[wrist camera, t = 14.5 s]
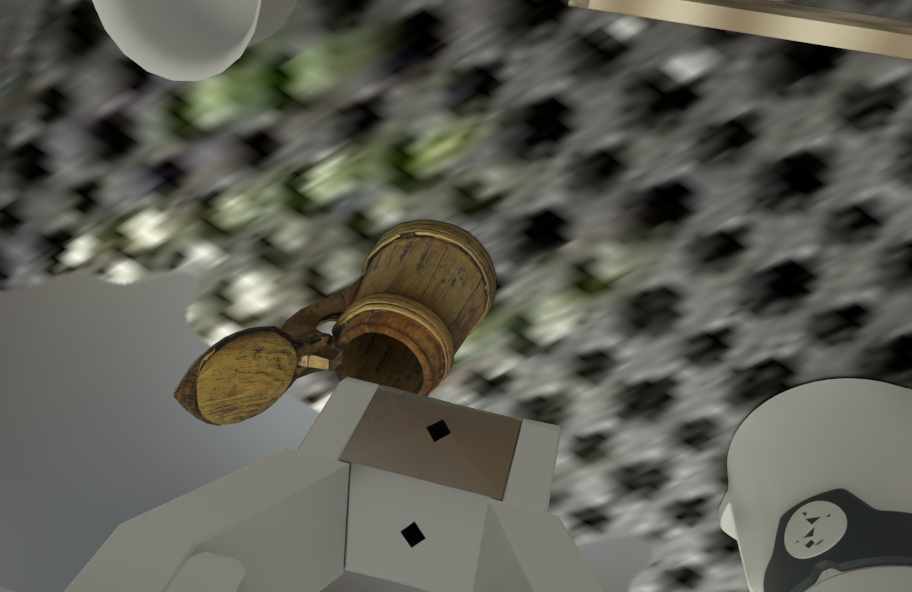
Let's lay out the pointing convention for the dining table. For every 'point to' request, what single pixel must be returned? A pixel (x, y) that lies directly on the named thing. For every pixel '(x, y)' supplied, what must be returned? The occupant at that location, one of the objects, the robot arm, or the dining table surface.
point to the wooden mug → (357, 328)
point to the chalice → (190, 32)
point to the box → (775, 21)
